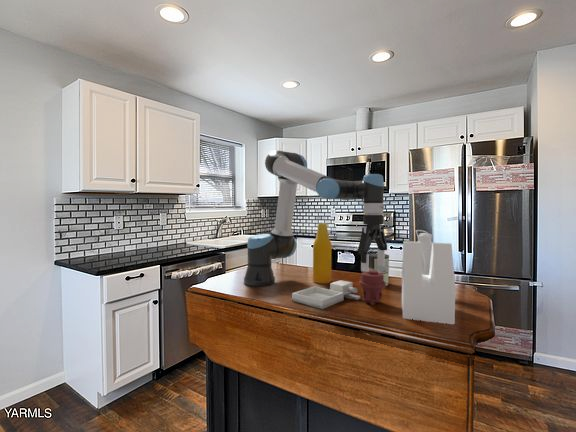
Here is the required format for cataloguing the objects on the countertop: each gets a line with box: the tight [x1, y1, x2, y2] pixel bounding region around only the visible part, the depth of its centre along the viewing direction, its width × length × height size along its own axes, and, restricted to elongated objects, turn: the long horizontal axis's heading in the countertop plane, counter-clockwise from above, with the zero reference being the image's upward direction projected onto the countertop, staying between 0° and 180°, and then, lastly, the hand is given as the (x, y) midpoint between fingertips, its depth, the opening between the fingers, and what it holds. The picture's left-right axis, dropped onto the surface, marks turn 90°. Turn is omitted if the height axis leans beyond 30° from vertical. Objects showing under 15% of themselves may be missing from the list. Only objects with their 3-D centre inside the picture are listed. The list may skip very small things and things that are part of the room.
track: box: [344, 293, 361, 301], centre depth 127 cm, size 11×3×1 cm, turn 48°
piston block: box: [329, 279, 358, 295], centre depth 127 cm, size 10×8×4 cm
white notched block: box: [401, 240, 456, 325], centre depth 108 cm, size 19×15×25 cm
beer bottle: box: [312, 223, 333, 285], centre depth 152 cm, size 9×9×29 cm
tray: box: [291, 285, 345, 310], centre depth 121 cm, size 15×15×3 cm
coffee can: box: [368, 252, 390, 286], centre depth 149 cm, size 10×10×14 cm
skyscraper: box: [415, 229, 433, 275], centre depth 132 cm, size 8×8×28 cm
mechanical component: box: [358, 270, 387, 306], centre depth 119 cm, size 12×10×10 cm
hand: (373, 268), depth 119 cm, fingers open, 13 cm apart
